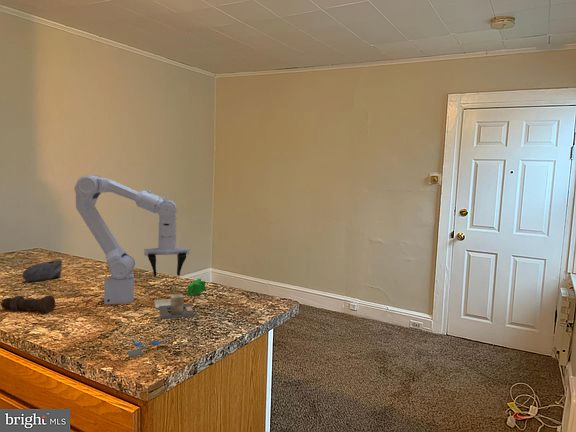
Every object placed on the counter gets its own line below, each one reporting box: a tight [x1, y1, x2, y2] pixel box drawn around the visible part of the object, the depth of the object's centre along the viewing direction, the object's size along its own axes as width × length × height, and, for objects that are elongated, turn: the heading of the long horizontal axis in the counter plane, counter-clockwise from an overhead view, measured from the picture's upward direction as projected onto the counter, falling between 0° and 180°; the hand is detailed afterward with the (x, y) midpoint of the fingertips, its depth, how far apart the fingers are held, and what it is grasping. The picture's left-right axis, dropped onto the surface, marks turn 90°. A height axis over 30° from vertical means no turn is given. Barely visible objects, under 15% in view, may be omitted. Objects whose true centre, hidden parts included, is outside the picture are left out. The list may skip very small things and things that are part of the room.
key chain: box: [126, 336, 172, 357], centre depth 109 cm, size 14×8×1 cm, turn 159°
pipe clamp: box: [187, 278, 206, 297], centre depth 155 cm, size 11×4×5 cm, turn 173°
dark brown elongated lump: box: [0, 294, 56, 315], centre depth 130 cm, size 6×5×15 cm
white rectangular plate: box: [153, 298, 171, 309], centre depth 141 cm, size 6×8×1 cm
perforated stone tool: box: [22, 259, 63, 282], centre depth 165 cm, size 15×5×7 cm, turn 142°
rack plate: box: [158, 303, 196, 320], centre depth 133 cm, size 10×10×2 cm
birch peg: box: [169, 293, 184, 313], centre depth 133 cm, size 4×4×6 cm
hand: (166, 275), depth 143 cm, fingers open, 7 cm apart
